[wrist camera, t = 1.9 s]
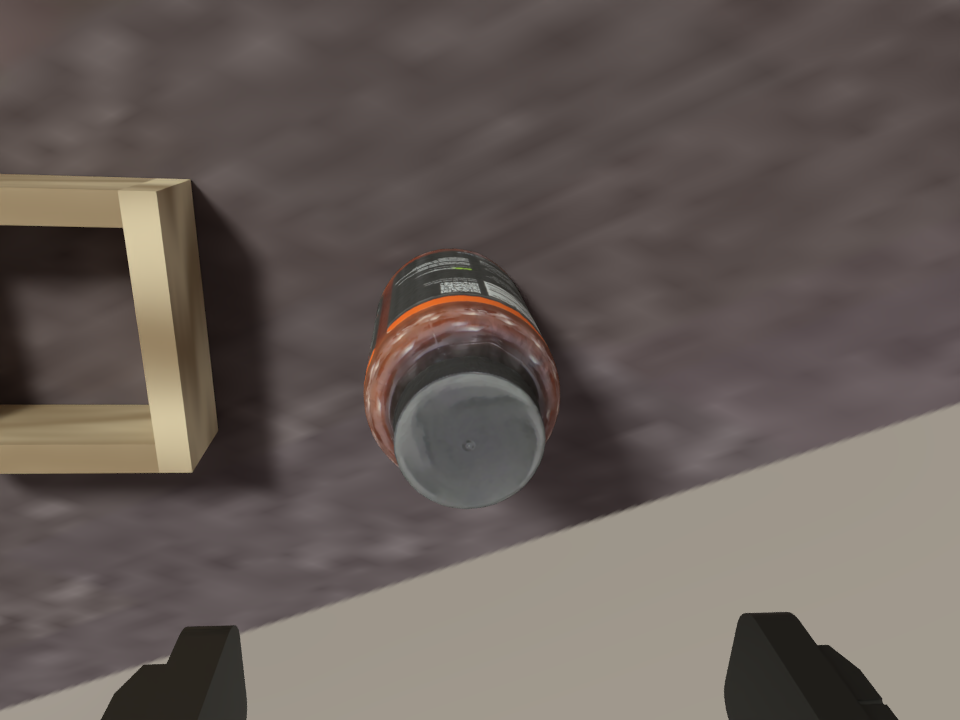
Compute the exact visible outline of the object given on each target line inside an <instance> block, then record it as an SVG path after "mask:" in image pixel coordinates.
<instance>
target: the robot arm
mask: <svg viewBox="0 0 960 720" xmlns="http://www.w3.org/2000/svg"><path fill="white" fill-rule="evenodd" d="M724 698H725V705H726V711H727V715H728V718H729V720H898V719H897V717H896V716H895V715H894V713H893V712H892V711H891V710H890V708H889V707H888V706H887V705H884V704H883V702H882V698H881V697H880V695H879V694H878V693H877V691H876V690H875V689H874V687H873V686H872V685H871V683H870V682H869V681H868V680H867V678H866V677H865V676H864V674H863V673H862V672H861V670H860V669H858V668H857V667H856V666H855V665H853V664H852V663H851V662H850V661H848V660H847V659H846V658H844V657H843V656H842V655H841V654H839V653H838V652H836V651H835V650H834V649H833V648H832V647H830V646H829V645H817V644H816V643H815V642H814V640H813V639H812V638H811V636H810V635H809V633H808V632H807V631H806V629H805V628H804V626H803V625H802V624H801V622H800V621H799V620H798V618H797V617H796V616H795V615H793V614H792V613H789V612H776V613H775V612H774V613H745V614H742V615H741V616H740V618H739V620H738V623H737V628H736V632H735V637H734V642H733V647H732V652H731V656H730V661H729V666H728V670H727V675H726V680H725V686H724ZM246 718H247V698H246V689H245V679H244V670H243V661H242V652H241V643H240V635H239V630H238V628H237V626H235V625H232V626H195V627H185V628H184V629H183V630H182V632H181V634H180V635H179V638H178V640H177V642H176V644H175V646H174V649H173V651H172V653H171V655H170V657H169V660H168V662H167V664H152V665H143V666H142V667H141V668H140V669H139V670H138V671H137V672H136V673H135V674H134V675H133V676H132V677H131V678H130V679H129V680H128V681H127V682H126V683H125V684H124V685H123V686H122V687H121V688H120V689H119V690H118V691H117V692H116V693H115V694H114V696H113V697H112V699H111V701H110V703H109V705H108V707H107V709H106V711H105V713H104V715H103V717H102V719H101V720H246Z"/></svg>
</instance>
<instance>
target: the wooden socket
mask: <svg viewBox="0 0 960 720" xmlns="http://www.w3.org/2000/svg"><path fill="white" fill-rule="evenodd" d="M0 225H23V226H67V227H112V228H123V230H124V237H125V243H126V250H127V257H128V264H129V271H130V277H131V284H132V291H133V298H134V304H135V311H136V318H137V325H138V331H139V338H140V345H141V352H142V359H143V365H144V372H145V379H146V386H147V392H148V399H149V405H0V474H45V473H192V472H193V471H194V469H195V467H196V466H197V464H198V463H199V461H200V459H201V458H202V456H203V454H204V453H205V451H206V450H207V448H208V446H209V445H210V443H211V442H212V440H213V438H214V437H215V435H216V433H217V432H218V424H217V415H216V406H215V397H214V388H213V379H212V370H211V361H210V351H209V342H208V333H207V324H206V315H205V306H204V297H203V288H202V279H201V270H200V261H199V252H198V243H197V233H196V224H195V215H194V206H193V197H192V188H191V179H159V178H123V177H88V176H53V175H17V174H0Z"/></svg>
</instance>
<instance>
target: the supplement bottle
mask: <svg viewBox="0 0 960 720" xmlns="http://www.w3.org/2000/svg"><path fill="white" fill-rule="evenodd" d="M365 376H366V377H365V382H364V403H365V413H366V417H367V420H368V424H369V427H370V429H371V432H372V435H373V436H374V438H375V440H376V442H377V443H378V445H379V446H380V448H381V449H382V451H383V452H384V453H385V454H386V455H387V456H388V458H389V459H390V460H391V461H393V462H394V463H395V464H396V465H397V466H398V467H399V468H400V470H401V472H402V474H403V476H404V477H405V479H406V480H407V481H408V482H409V483H410V485H411V486H412V487H413V488H414V489H415V490H416V491H417V492H419V493H420V494H422V495H423V496H424V497H426V498H428V499H429V500H431V501H434V502H436V503H438V504H441V505H443V506H447V507H452V508H461V509H472V508H481V507H487V506H490V505H494V504H497V503H499V502H501V501H504V500H506V499H507V498H509V497H511V496H512V495H513V494H515V493H517V492H518V491H519V490H521V489H522V488H523V487H524V486H525V485H526V484H527V483H528V482H529V481H530V479H531V478H532V476H533V475H534V473H535V472H536V470H537V468H538V466H539V465H540V462H541V459H542V457H543V453H544V448H545V443H546V442H547V440H548V439H549V436H550V435H551V433H552V430H553V427H554V425H555V422H556V419H557V416H558V413H559V404H560V383H559V376H558V373H557V368H556V364H555V362H554V359H553V357H552V354H551V352H550V350H549V348H548V347H547V344H546V342H545V340H544V339H543V337H542V335H541V333H540V331H539V329H538V327H537V326H536V324H535V322H534V320H533V318H532V316H531V314H530V312H529V310H528V308H527V306H526V304H525V303H524V301H523V299H522V297H521V295H520V293H519V290H518V289H517V287H516V285H515V284H514V283H513V282H512V280H511V279H510V277H509V276H508V275H507V274H506V272H505V271H504V270H503V269H502V268H501V267H499V266H498V265H497V264H496V263H494V262H493V261H491V260H490V259H488V258H487V257H484V256H482V255H480V254H478V253H476V252H471V251H467V250H462V249H440V250H436V251H431V252H427V253H425V254H422V255H420V256H417V257H415V258H414V259H412V260H411V261H409V262H408V263H406V264H405V265H404V266H403V267H402V268H401V269H399V270H398V271H397V272H396V274H395V275H394V276H393V277H392V279H391V280H390V281H389V283H388V285H387V286H386V288H385V290H384V292H383V294H382V297H381V299H380V302H379V305H378V310H377V314H376V320H375V327H374V332H373V336H372V342H371V348H370V353H369V358H368V364H367V369H366V374H365Z"/></svg>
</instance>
